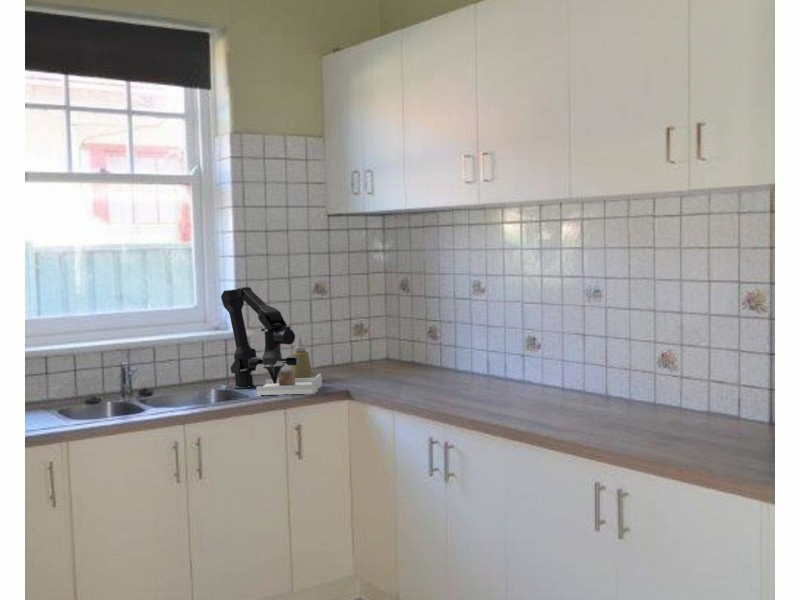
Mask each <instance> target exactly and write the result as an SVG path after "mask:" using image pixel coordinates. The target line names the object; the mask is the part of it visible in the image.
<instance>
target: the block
mask: <svg viewBox="0 0 800 600" xmlns="http://www.w3.org/2000/svg"><path fill="white" fill-rule="evenodd" d="M278 379H279V386H289V385H295V377H294V372H292V371H287V372H286V371H284V372H281V371H280V372H279V375H278Z"/></svg>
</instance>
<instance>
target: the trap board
mask: <svg viewBox="0 0 800 600" xmlns="http://www.w3.org/2000/svg"><path fill="white" fill-rule="evenodd" d="M322 380H323V379H322V373H318V374H317V375H316V376H315V377H310V378H295V385H289V386H279V378H278V379H277V382H276V384H274V383H273V380H272V378H271V379H265V384H264V385H263V386H256V396H257V397H262V396H261V395H270V394H271V395H272V394H305V395H308V394H307V393H316V392H317V393H318V392H319V390H320V389H321V388H322V387H323V381H322ZM321 386H322V387H321ZM320 387H321V388H320ZM319 388H320V389H319ZM318 389H319V390H318ZM317 393H316V394H317Z"/></svg>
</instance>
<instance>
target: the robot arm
mask: <svg viewBox="0 0 800 600" xmlns="http://www.w3.org/2000/svg"><path fill="white" fill-rule="evenodd" d="M220 299H221V302H222V305H223V307H224V308H225V310H226V311H227V312H228V313H229V319H230V323H231V328H232V333H233V337H234V342H235V348H236V349H235V351H234V354H233V355H234V357H233V359H234V361H233V363H232V365H231V366H230V373H231V374H234V376H235V378H234V379H235V387H236V386H238V387H248V386H249V387H250V386H253V385H254V386H255V376H254V374H253V372H254V371H255V372H256V369H257V366H258V365H263V366H262V367H263V369H265V370H267V372H268V373H269V375H270V378H271V379H272V380H273V383H274V384H276V382H277V379H279V374H280V373H281V369H282V368H283V367H285V364H286V365H287V366H292V365H297V364H298V363H299V357H298V356H292V355H289V356H287V357H286V358H283V357H282V352H281V351H282V349H281V345H289V346H290V345H292V344H293V343H294V342H295V339H296V334H295V331H293V330H292V329H291V326H289V325H288V326H287V322H286V321H285V319H284V318H283V315H282V314H281V312H280V310H278V309H277V308H275V307H273V306H270V305H268V304H267V303H265V302H264V300H262V299H261V297H259V296H258V295H257V294H256V293H255V292H254V291H253V289H252V287H249V286H241V287H238V288H237V289H226V290H224V291H223V292H222V294H221V296H220ZM245 303H246V304H247V305H248V306H249V308H251V309H252V311H254V312H255V314H257V318H258V320H259V322H260V323H261V325H262V326H263V327H262V328H261V329H260V331H261V332H263V333H264V344H265V345H264V352H263V355H262V357H261V356H260V357H259V356H257V352H256V351H257V350H256V349H255V348H252V347H251V346H250V344H249V339H248V334H247V330H246V326H245V321H244V316H243V308H244V304H245ZM254 386H253V387H254Z"/></svg>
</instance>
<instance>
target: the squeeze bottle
mask: <svg viewBox="0 0 800 600" xmlns="http://www.w3.org/2000/svg"><path fill="white" fill-rule="evenodd" d="M291 356H298V357H299V363H298V364H297V365H291V372H294V377H295V378H312V367H311V361H310V354H309V352H308V351H307V347H306V346H304V344H303V341H302V337H297V342H296V346H295V347H294V352H293V353H292V355H291Z"/></svg>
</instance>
